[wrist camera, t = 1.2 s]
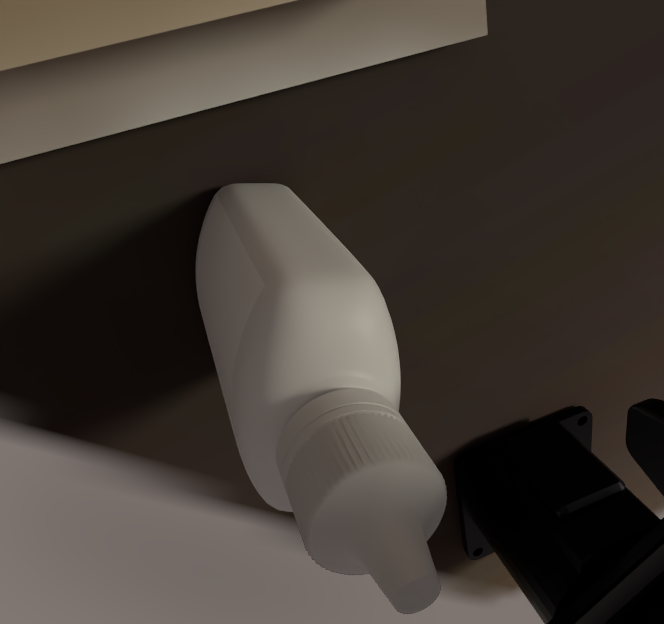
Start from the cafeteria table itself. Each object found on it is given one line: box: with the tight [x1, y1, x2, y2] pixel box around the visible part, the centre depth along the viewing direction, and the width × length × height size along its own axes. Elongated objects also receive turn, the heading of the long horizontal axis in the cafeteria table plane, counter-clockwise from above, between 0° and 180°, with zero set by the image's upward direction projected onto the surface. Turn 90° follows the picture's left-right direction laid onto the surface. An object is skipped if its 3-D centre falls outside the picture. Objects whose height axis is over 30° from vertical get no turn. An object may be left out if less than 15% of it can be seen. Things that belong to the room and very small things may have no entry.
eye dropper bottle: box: [196, 183, 447, 614], centre depth 13 cm, size 4×6×12 cm
